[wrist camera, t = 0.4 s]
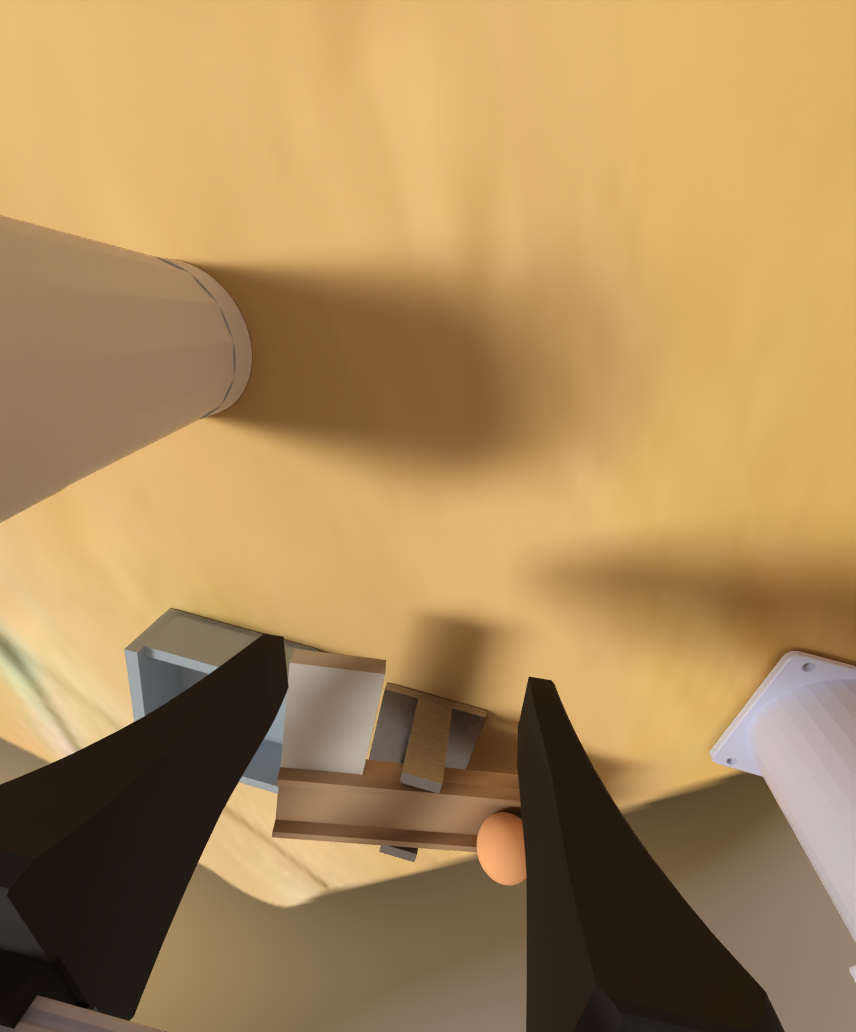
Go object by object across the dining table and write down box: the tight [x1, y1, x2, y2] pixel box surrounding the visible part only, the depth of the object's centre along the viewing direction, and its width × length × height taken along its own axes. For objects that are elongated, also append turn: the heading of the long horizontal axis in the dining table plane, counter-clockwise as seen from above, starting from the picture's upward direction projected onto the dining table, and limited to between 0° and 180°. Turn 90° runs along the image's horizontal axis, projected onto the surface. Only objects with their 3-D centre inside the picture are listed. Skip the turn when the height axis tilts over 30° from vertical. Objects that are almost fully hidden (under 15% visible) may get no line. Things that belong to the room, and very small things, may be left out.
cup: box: [0, 215, 252, 523], centre depth 14 cm, size 8×8×12 cm
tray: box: [125, 608, 319, 793], centre depth 26 cm, size 9×9×4 cm
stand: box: [369, 683, 486, 862], centre depth 25 cm, size 6×7×5 cm
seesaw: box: [272, 649, 522, 852], centre depth 22 cm, size 14×12×2 cm
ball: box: [477, 812, 526, 885], centre depth 23 cm, size 3×3×3 cm
